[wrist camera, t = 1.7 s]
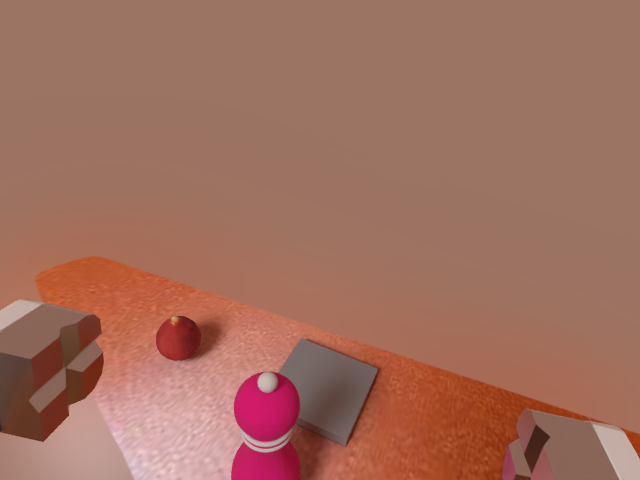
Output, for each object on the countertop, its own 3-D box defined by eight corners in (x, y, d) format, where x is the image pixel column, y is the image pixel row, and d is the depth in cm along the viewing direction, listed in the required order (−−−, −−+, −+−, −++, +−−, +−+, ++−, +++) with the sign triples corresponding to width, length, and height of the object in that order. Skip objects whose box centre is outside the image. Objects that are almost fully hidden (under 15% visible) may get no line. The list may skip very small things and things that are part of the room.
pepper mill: (295, 457, 54) (305, 341, 43) (301, 523, 49) (314, 409, 37) (233, 463, 53) (226, 345, 42) (231, 531, 48) (223, 416, 36)
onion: (181, 335, 69) (176, 295, 64) (210, 352, 66) (207, 312, 62) (151, 360, 64) (142, 319, 60) (181, 380, 62) (175, 339, 57)
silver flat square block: (376, 375, 65) (378, 368, 64) (345, 446, 56) (346, 439, 55) (300, 344, 69) (301, 337, 68) (260, 407, 60) (260, 400, 59)
